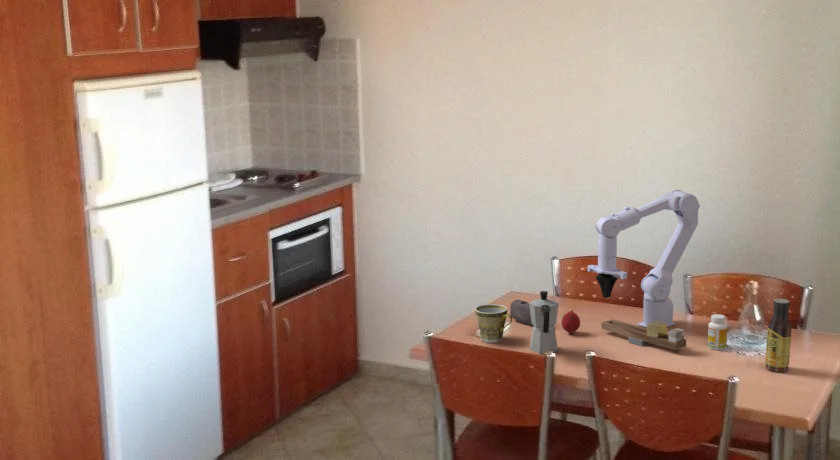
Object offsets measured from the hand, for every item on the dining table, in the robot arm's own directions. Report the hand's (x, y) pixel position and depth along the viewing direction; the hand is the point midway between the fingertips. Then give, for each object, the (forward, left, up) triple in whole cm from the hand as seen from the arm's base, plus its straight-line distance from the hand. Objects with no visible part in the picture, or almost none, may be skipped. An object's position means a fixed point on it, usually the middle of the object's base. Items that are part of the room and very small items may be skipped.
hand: (606, 297), depth 300 cm
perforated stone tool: (+14, -20, -11) cm, 27 cm away
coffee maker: (+30, +2, -11) cm, 32 cm away
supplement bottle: (-10, +34, -11) cm, 37 cm away
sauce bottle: (-6, +56, -11) cm, 57 cm away
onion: (+12, -4, -11) cm, 17 cm away
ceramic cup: (+34, -15, -11) cm, 39 cm away
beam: (+2, +16, -10) cm, 19 cm away
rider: (+2, +21, -9) cm, 23 cm away
